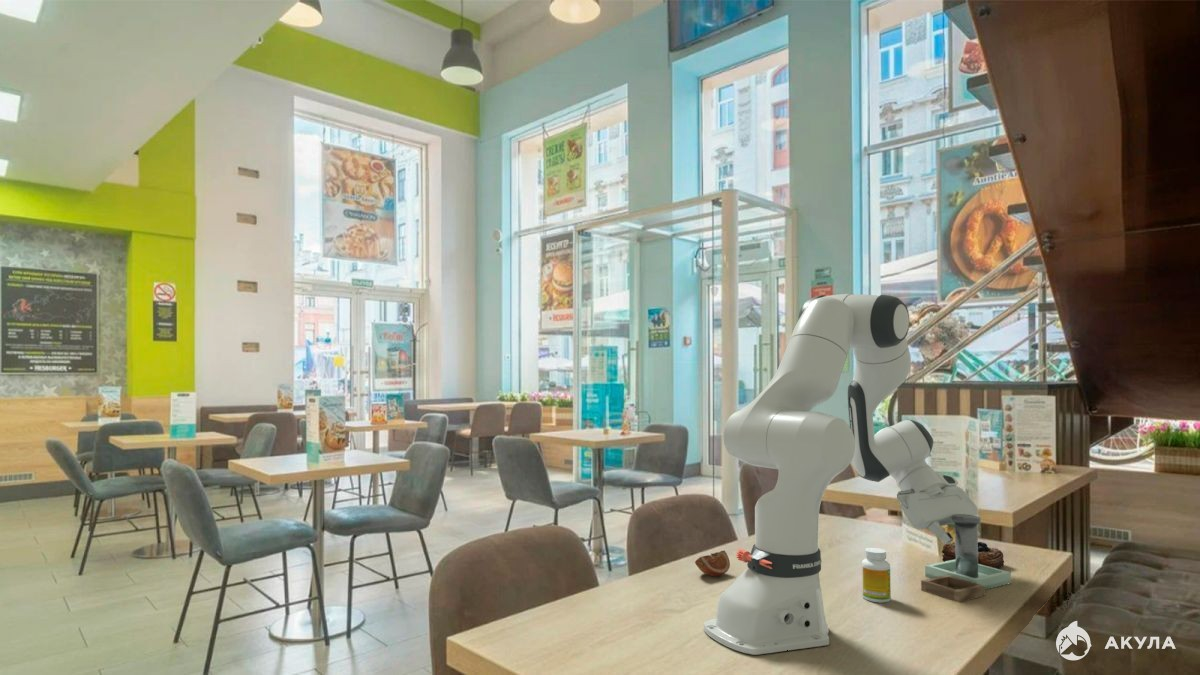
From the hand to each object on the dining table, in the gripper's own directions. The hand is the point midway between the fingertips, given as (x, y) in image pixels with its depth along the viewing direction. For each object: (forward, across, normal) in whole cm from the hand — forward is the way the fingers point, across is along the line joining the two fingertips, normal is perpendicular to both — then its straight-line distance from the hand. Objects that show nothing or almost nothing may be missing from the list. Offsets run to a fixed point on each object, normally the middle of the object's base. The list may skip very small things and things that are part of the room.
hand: (963, 539), depth 152 cm
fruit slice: (-14, -48, +26) cm, 56 cm away
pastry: (+2, +13, +11) cm, 17 cm away
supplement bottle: (+6, -28, +6) cm, 29 cm away
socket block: (+10, -11, +3) cm, 15 cm away
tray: (+7, 0, +6) cm, 9 cm away
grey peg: (+6, 0, +5) cm, 8 cm away
